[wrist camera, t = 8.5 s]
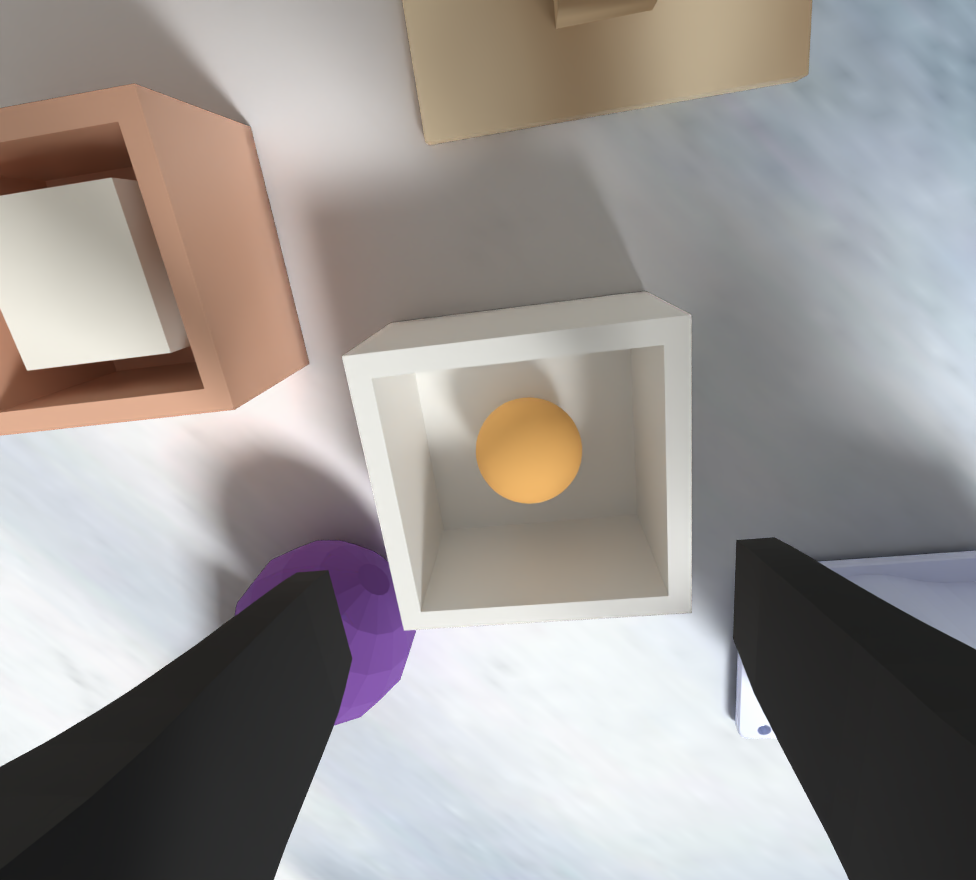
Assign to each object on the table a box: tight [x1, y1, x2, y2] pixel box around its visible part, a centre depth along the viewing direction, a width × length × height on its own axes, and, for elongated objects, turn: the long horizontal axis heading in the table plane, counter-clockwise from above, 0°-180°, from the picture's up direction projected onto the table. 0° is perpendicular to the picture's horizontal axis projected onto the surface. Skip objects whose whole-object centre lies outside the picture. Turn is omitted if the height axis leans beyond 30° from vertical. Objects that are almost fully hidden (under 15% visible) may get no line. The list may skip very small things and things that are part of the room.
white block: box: [0, 178, 190, 371], centre depth 15 cm, size 4×4×4 cm
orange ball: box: [476, 397, 582, 504], centre depth 17 cm, size 3×3×3 cm
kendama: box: [235, 540, 416, 725], centre depth 21 cm, size 6×6×20 cm
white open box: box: [342, 291, 692, 631], centre depth 16 cm, size 8×8×5 cm
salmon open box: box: [0, 83, 309, 435], centre depth 15 cm, size 7×7×5 cm
